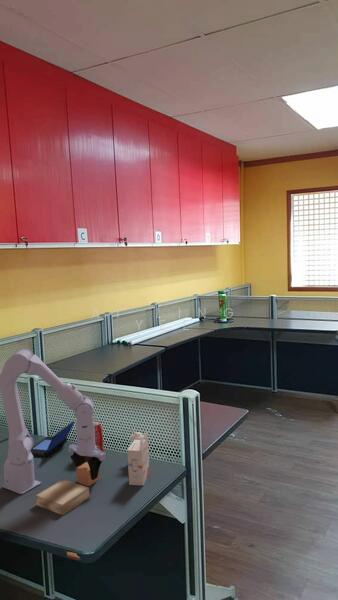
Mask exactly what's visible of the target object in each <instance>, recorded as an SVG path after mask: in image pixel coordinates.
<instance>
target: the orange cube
mask: <svg viewBox="0 0 338 600" xmlns="http://www.w3.org/2000/svg"><path fill="white" fill-rule="evenodd" d="M99 480H100V471H99V472H98V477H97V478H96V479H95V480H92V479H91V473H90V468H89V465H88V463H87V461H85V463H84V464H82V465H80V466H78V467H77V468H76V481H77V484H80V485H83V486H86V487H89V486H91V485H93V484H94V483H96V482H98V481H99Z"/></svg>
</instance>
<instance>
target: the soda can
mask: <svg viewBox="0 0 338 600" xmlns="http://www.w3.org/2000/svg"><path fill="white" fill-rule="evenodd" d="M93 421H94V428H95V445H96V446H97V449H99V450H100V451H102V452H104V432H103V431H104V430H103V425H102V424H101V421H99V420H95V419H94V420H93ZM87 457H89V458H91V457H90V456H87Z"/></svg>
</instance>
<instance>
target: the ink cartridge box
mask: <svg viewBox="0 0 338 600" xmlns="http://www.w3.org/2000/svg"><path fill="white" fill-rule="evenodd" d="M126 452H127V467H128V468H127V471H128V485H129V486H137V487H138V486H139V487H141V486H142V487H143V486H144V485H145V483H146V481H147V479H148V477H149V475H150V454H149V453H150V452H149V438H148V432H147V431H146V432H145V433H144V434H143V437H142V439H141V440H134V441H133V440H132V443H131V444H130V445H129V447H128V448H127V449H126Z"/></svg>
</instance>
